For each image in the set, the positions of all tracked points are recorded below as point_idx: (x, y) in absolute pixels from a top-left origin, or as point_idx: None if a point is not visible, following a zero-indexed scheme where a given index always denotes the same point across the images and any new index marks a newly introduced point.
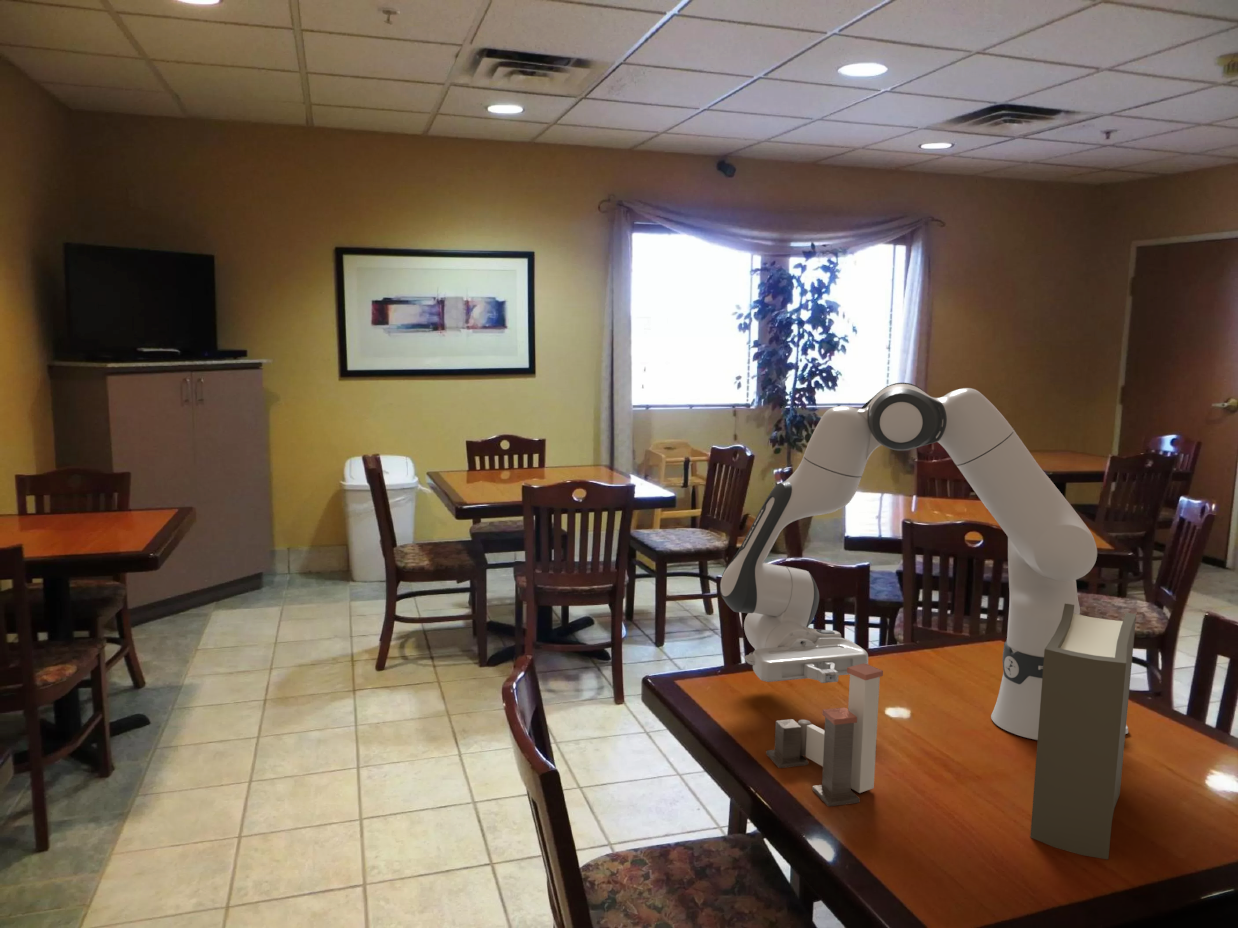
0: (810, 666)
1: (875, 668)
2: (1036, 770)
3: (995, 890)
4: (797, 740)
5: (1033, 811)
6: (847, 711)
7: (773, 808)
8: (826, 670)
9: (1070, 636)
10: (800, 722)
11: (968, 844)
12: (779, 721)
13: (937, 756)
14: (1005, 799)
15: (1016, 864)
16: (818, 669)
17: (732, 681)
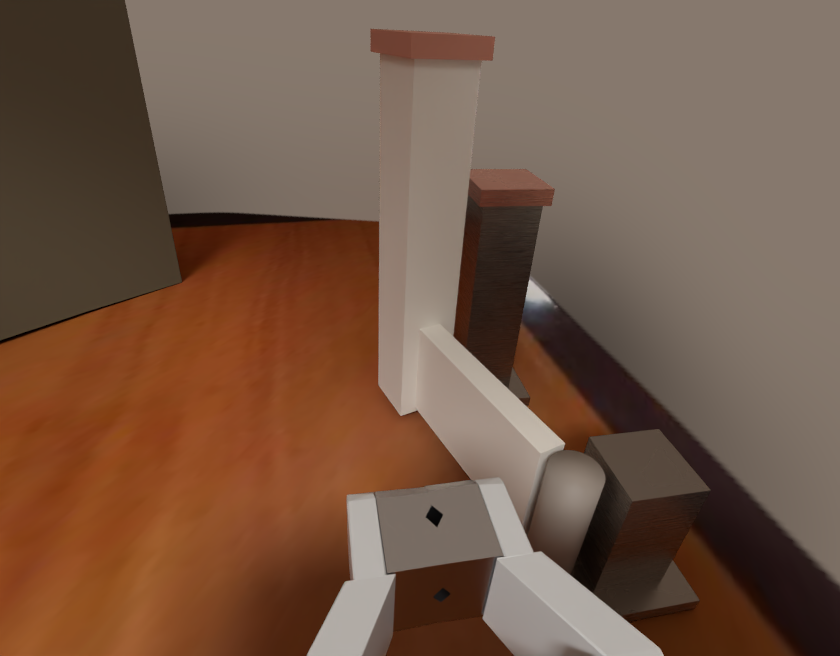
0: (621, 631)
1: (389, 30)
2: (156, 159)
3: (331, 236)
4: None
5: (172, 237)
6: (479, 181)
7: (615, 359)
8: (448, 532)
9: None
10: (593, 470)
11: (298, 279)
12: (691, 482)
13: (6, 550)
14: (92, 351)
15: (264, 254)
16: (527, 561)
17: None
